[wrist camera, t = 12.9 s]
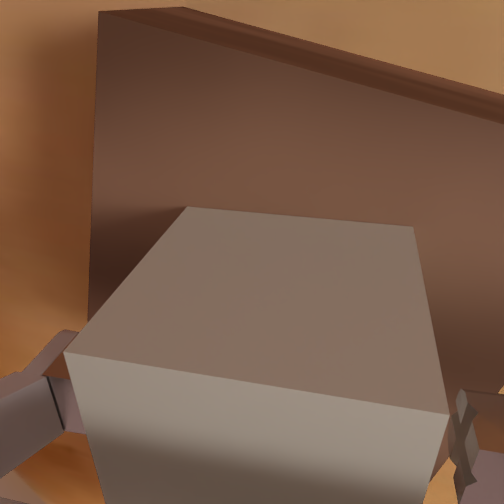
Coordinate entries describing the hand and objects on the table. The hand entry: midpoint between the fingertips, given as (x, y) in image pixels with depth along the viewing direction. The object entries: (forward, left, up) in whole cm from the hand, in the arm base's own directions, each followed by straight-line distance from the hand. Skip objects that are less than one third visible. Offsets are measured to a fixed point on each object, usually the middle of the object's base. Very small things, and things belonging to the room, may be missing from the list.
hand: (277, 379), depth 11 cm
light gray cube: (0, 0, -3) cm, 3 cm away
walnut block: (0, 0, -9) cm, 9 cm away
